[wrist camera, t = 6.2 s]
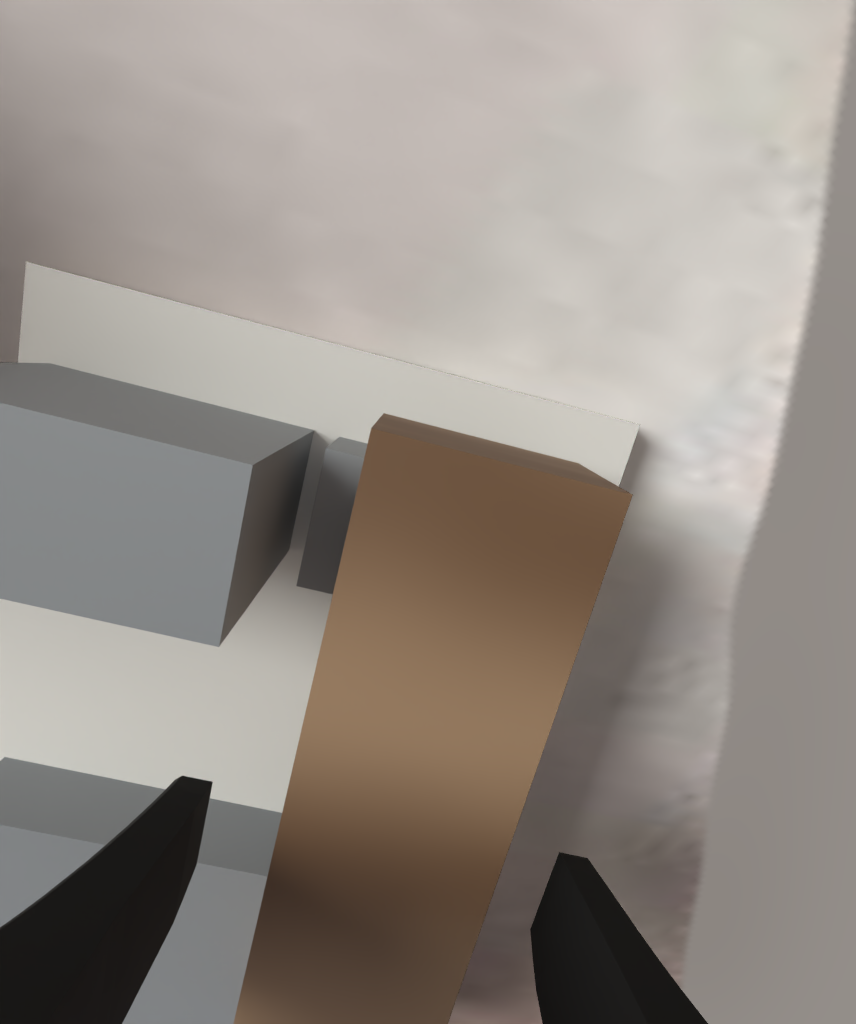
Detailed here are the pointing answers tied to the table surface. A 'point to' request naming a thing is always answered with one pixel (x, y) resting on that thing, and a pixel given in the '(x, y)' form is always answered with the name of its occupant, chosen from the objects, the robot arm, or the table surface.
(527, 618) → the walnut bar
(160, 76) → the table surface
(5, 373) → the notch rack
